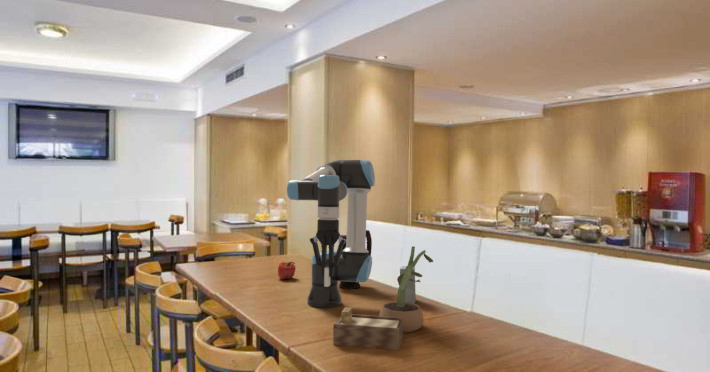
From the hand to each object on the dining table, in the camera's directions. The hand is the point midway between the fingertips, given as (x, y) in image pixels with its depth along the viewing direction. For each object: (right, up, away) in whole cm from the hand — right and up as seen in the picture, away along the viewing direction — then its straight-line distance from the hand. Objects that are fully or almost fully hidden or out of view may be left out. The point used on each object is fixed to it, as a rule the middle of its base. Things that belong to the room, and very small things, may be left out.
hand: (327, 285), depth 169 cm
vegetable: (-28, -17, +97) cm, 103 cm away
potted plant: (+30, -19, +16) cm, 38 cm away
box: (+14, -19, -3) cm, 24 cm away
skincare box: (+34, -18, +52) cm, 64 cm away
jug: (+8, -17, +79) cm, 81 cm away
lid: (+15, -13, -3) cm, 20 cm away
